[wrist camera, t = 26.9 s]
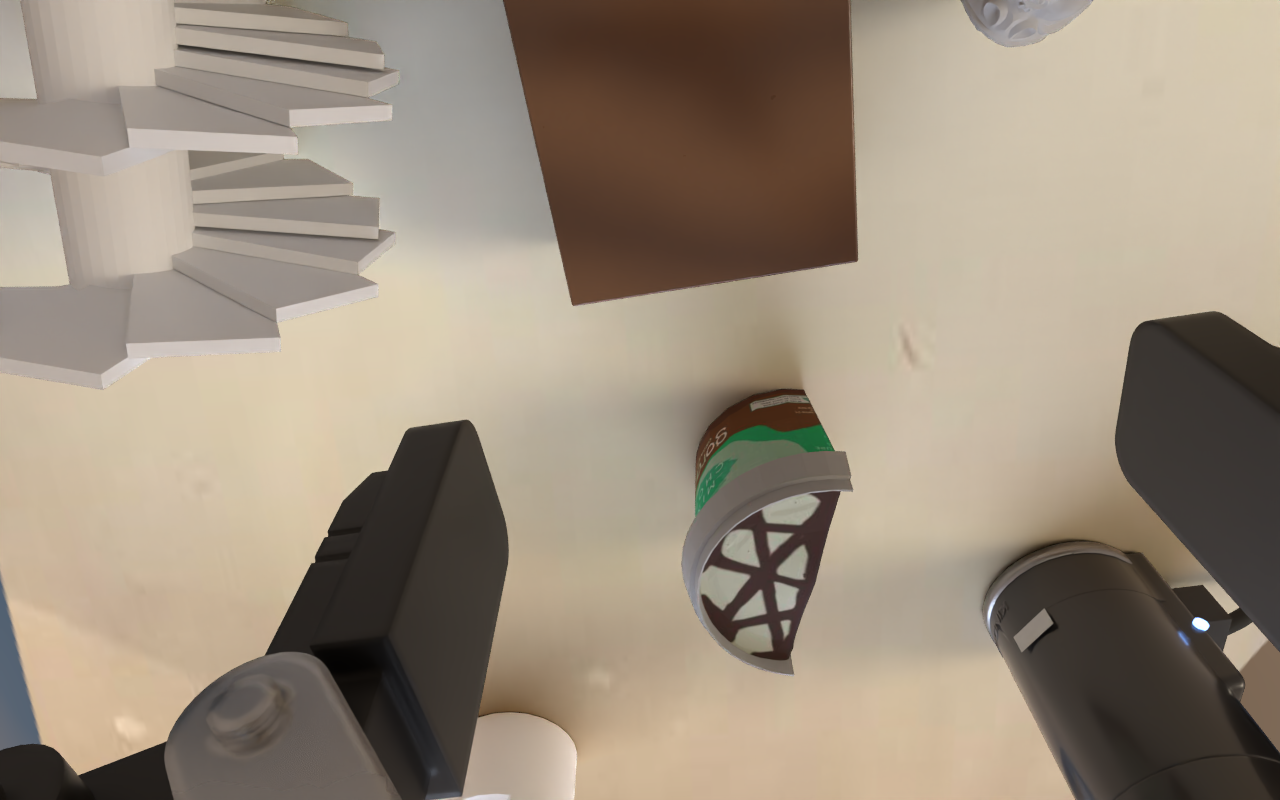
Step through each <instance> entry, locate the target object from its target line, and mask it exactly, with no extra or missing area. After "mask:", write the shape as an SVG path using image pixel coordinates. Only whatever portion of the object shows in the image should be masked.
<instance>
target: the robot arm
mask: <svg viewBox="0 0 1280 800" xmlns="http://www.w3.org/2000/svg"><path fill="white" fill-rule="evenodd" d="M1115 445H1116V453H1117V457H1118V461H1119V464H1120V467H1121V470H1122V472H1123V474H1124V476H1125V478H1126V479H1127V481H1128V482H1129V484H1130V485H1131V486H1132V487H1133V488H1134V489H1135V491H1136V492H1137V493H1138V494H1139V495H1140V496H1141V497H1142V498H1143V500H1144V501H1145V502H1146V503H1147V504H1148V505H1149V506H1150V507H1151V509H1152V510H1153V511H1154V512H1155V513H1156V514H1157V515H1158V516H1159V517H1160V519H1161V520H1162V521H1163V522H1164V523H1165V524H1166V525H1167V526H1168V528H1169V529H1170V530H1171V531H1172V532H1173V533H1174V534H1175V535H1176V537H1177V538H1178V539H1179V540H1180V541H1181V542H1182V543H1183V544H1184V545H1185V547H1186V548H1187V549H1188V550H1189V551H1190V552H1191V553H1192V554H1193V556H1194V557H1195V558H1196V559H1197V560H1198V561H1199V562H1200V563H1201V565H1202V566H1203V567H1204V568H1205V569H1206V570H1207V571H1208V572H1209V573H1210V575H1211V576H1212V577H1213V578H1214V579H1215V580H1216V581H1217V582H1218V584H1219V585H1220V586H1221V587H1222V588H1223V589H1224V590H1225V591H1226V593H1227V594H1228V595H1229V596H1230V597H1231V598H1232V599H1233V600H1234V601H1235V603H1236V604H1237V605H1238V606H1239V608H1238V609H1237V610H1235V611H1233V612H1231V613H1229V614H1227V612H1226V611H1225V610H1224V609H1223V608H1222V607H1221V605H1220V604H1219V603H1218V602H1217V601H1216V600H1215V599H1214V597H1213V596H1212V595H1211V594H1210V593H1209V592H1208V590H1207V589H1206V588H1205V587H1204V586H1203V585H1198V586H1190V587H1182V588H1173V589H1171V588H1170V587H1169V585H1168V584H1167V583H1166V582H1165V580H1164V579H1163V578H1162V577H1161V575H1160V574H1159V573H1158V572H1157V571H1156V569H1155V568H1154V567H1153V566H1152V564H1151V563H1150V562H1149V561H1148V560H1147V558H1146V557H1145V556H1144V555H1143V554H1142V553H1133V554H1124V553H1123V552H1121V551H1120V550H1118V549H1116V548H1114V547H1111V546H1108V545H1105V544H1101V543H1095V542H1067V543H1061V544H1057V545H1052V546H1049V547H1046V548H1043V549H1040V550H1038V551H1035V552H1033V553H1031V554H1029V555H1027V556H1025V557H1023V558H1021V559H1020V560H1018V561H1017V562H1015V563H1014V564H1012V565H1011V566H1010V567H1008V568H1007V569H1006V570H1005V571H1004V572H1003V573H1002V574H1001V575H1000V576H999V577H998V578H997V579H996V580H995V582H994V583H993V584H992V586H991V587H990V589H989V591H988V593H987V595H986V598H985V601H984V605H983V620H984V623H985V626H986V628H987V630H988V632H989V634H990V636H991V638H992V640H993V641H994V643H995V644H996V646H997V648H998V650H999V652H1000V653H1001V655H1002V657H1003V658H1004V660H1005V662H1006V664H1007V666H1008V668H1009V670H1010V671H1011V674H1012V676H1013V678H1014V680H1015V682H1016V684H1017V686H1018V688H1019V690H1020V692H1021V694H1022V696H1023V697H1024V699H1025V701H1026V703H1027V705H1028V707H1029V709H1030V711H1031V713H1032V715H1033V717H1034V719H1035V721H1036V723H1037V725H1038V727H1039V729H1040V731H1041V733H1042V735H1043V737H1044V739H1045V741H1046V743H1047V745H1048V747H1049V749H1050V751H1051V753H1052V755H1053V757H1054V759H1055V761H1056V763H1057V764H1058V766H1059V768H1060V770H1061V772H1062V774H1063V776H1064V778H1065V780H1066V782H1067V784H1068V786H1069V788H1070V790H1071V792H1072V794H1073V796H1074V798H1075V800H1280V753H1279V751H1278V750H1277V749H1276V748H1275V746H1274V745H1273V744H1272V743H1271V741H1270V740H1269V739H1268V737H1267V736H1266V735H1265V733H1264V732H1263V731H1262V730H1261V728H1260V727H1259V726H1258V725H1257V723H1256V722H1255V721H1254V719H1253V718H1252V717H1251V716H1250V714H1249V713H1248V712H1247V711H1246V709H1245V708H1244V707H1243V706H1242V704H1241V703H1240V701H1241V698H1242V695H1243V692H1244V689H1245V682H1244V679H1243V677H1242V675H1241V674H1240V672H1239V671H1238V670H1237V669H1236V668H1235V666H1234V665H1233V664H1232V663H1231V661H1230V660H1229V659H1228V658H1227V656H1226V655H1225V654H1224V653H1223V649H1224V646H1225V642H1226V639H1227V636H1228V635H1230V634H1232V633H1234V632H1236V631H1238V630H1240V629H1242V628H1244V627H1246V626H1247V625H1249V624H1250V623H1252V622H1253V623H1254V624H1255V625H1256V626H1257V627H1258V628H1259V629H1260V631H1261V632H1262V633H1263V634H1264V635H1265V636H1266V637H1267V638H1268V640H1269V641H1270V642H1271V643H1272V644H1273V645H1274V646H1275V647H1276V648H1277V649H1278V651H1279V652H1280V348H1278V347H1276V346H1273V345H1271V344H1269V343H1268V342H1266V341H1265V340H1263V339H1261V338H1260V337H1258V336H1257V335H1255V334H1254V333H1252V332H1251V331H1249V330H1248V329H1246V328H1245V327H1243V326H1242V325H1240V324H1239V323H1237V322H1235V321H1234V320H1232V319H1231V318H1229V317H1228V316H1226V315H1224V314H1222V313H1220V312H1216V311H1213V312H1204V313H1197V314H1190V315H1184V316H1177V317H1170V318H1163V319H1157V320H1150V321H1145V322H1143V323H1141V324H1140V325H1139V326H1138V327H1137V328H1136V329H1135V331H1134V333H1133V335H1132V338H1131V341H1130V346H1129V352H1128V358H1127V365H1126V371H1125V377H1124V383H1123V389H1122V395H1121V402H1120V408H1119V414H1118V420H1117V426H1116V434H1115ZM508 551H509V550H508V535H507V528H506V523H505V518H504V515H503V511H502V508H501V505H500V502H499V499H498V496H497V493H496V490H495V486H494V483H493V480H492V477H491V474H490V471H489V468H488V465H487V461H486V458H485V455H484V452H483V449H482V446H481V443H480V440H479V437H478V434H477V431H476V429H475V427H474V426H473V424H472V423H471V422H470V421H469V420H461V421H454V422H447V423H440V424H434V425H427V426H420V427H413V428H409V429H408V430H407V431H406V432H405V434H404V436H403V438H402V441H401V443H400V445H399V447H398V449H397V452H396V454H395V456H394V458H393V461H392V463H391V465H390V467H389V469H388V471H382V472H375V473H372V474H370V475H369V476H368V477H367V478H366V479H365V480H364V481H363V482H362V483H361V484H360V485H359V486H358V487H357V488H356V489H355V490H354V491H353V492H352V493H351V494H350V495H349V496H348V497H347V498H346V499H345V500H344V501H343V502H342V504H341V506H340V508H339V510H338V512H337V514H336V516H335V518H334V520H333V522H332V524H331V526H330V528H329V530H328V537H325V538H324V540H323V542H322V543H321V545H320V547H319V549H318V551H317V553H316V555H315V563H312V564H311V565H310V567H309V569H308V571H307V573H306V575H305V577H304V579H303V581H302V583H301V585H300V587H299V589H298V591H297V593H296V595H295V597H294V599H293V601H292V603H291V605H290V607H289V609H288V611H287V613H286V615H285V617H284V619H283V621H282V623H281V625H280V627H279V629H278V631H277V632H276V634H275V636H274V638H273V640H272V642H271V644H270V646H269V648H268V650H267V652H266V654H265V656H263V657H259V658H257V659H254V660H251V661H249V662H246V663H244V664H242V665H240V666H238V667H236V668H234V669H232V670H231V671H229V672H228V673H226V674H224V675H223V676H221V677H220V678H218V679H217V680H216V681H214V682H213V683H212V684H210V685H209V686H208V687H206V688H205V689H204V690H203V691H202V692H201V693H200V694H199V695H198V696H197V697H195V698H194V700H193V701H192V702H191V703H190V704H189V705H188V706H187V707H186V709H185V710H184V711H183V713H182V714H181V715H180V717H179V718H178V720H177V721H176V723H175V725H174V726H173V728H172V730H171V732H170V734H169V737H168V740H167V742H164V743H162V744H159V745H157V746H154V747H151V748H149V749H146V750H144V751H141V752H138V753H136V754H133V755H130V756H128V757H125V758H123V759H120V760H117V761H115V762H112V763H110V764H107V765H104V766H102V767H99V768H97V769H94V770H91V771H89V772H86V773H84V774H81V775H77V774H76V772H75V771H74V770H73V769H72V768H71V767H70V765H69V764H68V763H67V762H66V761H65V759H64V758H63V757H62V756H61V755H60V753H58V752H57V751H56V750H55V749H53V748H51V747H48V746H46V745H39V744H28V745H19V746H15V747H11V748H7V749H4V750H1V751H0V800H436V799H445V798H454V797H462V794H463V789H464V784H465V779H466V774H467V769H468V764H469V759H470V754H471V749H472V744H473V738H474V733H475V728H476V723H477V718H478V713H479V708H480V703H481V698H482V693H483V688H484V682H485V677H486V672H487V667H488V662H489V657H490V652H491V647H492V642H493V637H494V632H495V627H496V621H497V616H498V611H499V606H500V601H501V596H502V591H503V586H504V581H505V576H506V571H507V565H508Z"/></svg>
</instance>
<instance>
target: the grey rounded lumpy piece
mask: <svg viewBox="0 0 1280 800" xmlns="http://www.w3.org/2000/svg"><path fill="white" fill-rule="evenodd" d="M1092 1H1093V0H961V2H962V3H963V6H964V8H965V11H966V13H967V14H968V16H969V18H970V20H971V22H972V23H973V25H975V28H976V29H977V30H978V31H981V32H982V33H983V34H984V35H985V36H986V37H988V38H989V39H991V40H993V41H994V42H995V43H997V44H1000V45H1003V46H1005V47H1019V46H1026V45H1029V44H1034V43H1037V42H1040V41H1041V40H1043V39H1044V38H1045V37H1046V36H1047V35H1049V34H1052V33H1055V32H1057V31H1059V30H1061V29H1062V28H1064V27H1065V26H1066V25H1068V24H1069V23H1070V22H1071V21H1072V20H1074V19H1075V18H1076V17H1077V16H1078V15H1079V14H1081V13H1082V12H1083V11H1084V10H1085V9H1086V8H1087V7H1088V6H1089V5H1090V4H1091V3H1092Z"/></svg>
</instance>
